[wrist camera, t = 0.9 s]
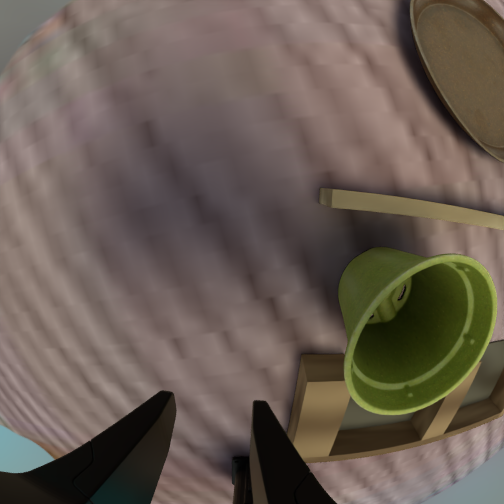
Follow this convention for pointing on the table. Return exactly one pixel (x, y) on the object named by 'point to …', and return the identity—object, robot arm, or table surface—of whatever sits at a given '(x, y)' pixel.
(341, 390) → the compartment box
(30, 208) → the table surface
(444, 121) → the table surface
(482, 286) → the plant pot
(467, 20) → the plant saucer
